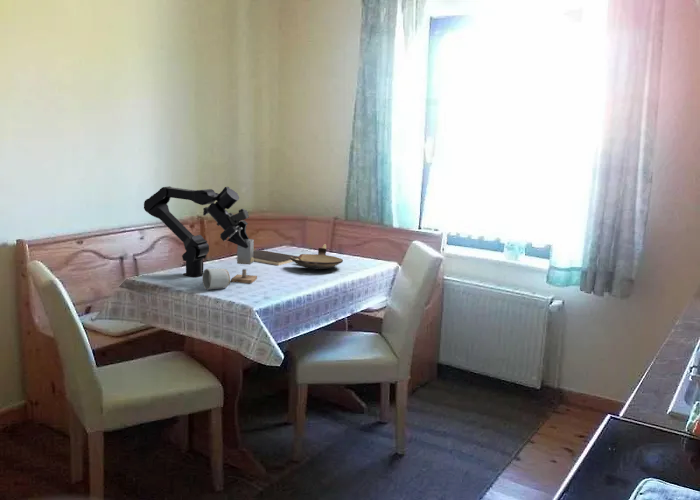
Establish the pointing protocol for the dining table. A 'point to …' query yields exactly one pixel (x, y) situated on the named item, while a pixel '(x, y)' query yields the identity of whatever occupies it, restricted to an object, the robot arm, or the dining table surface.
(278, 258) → the hardcover book
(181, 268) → the dining table surface
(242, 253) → the grey cardboard box
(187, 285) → the dining table surface
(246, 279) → the post base
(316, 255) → the oil lamp
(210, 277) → the ceramic mug
